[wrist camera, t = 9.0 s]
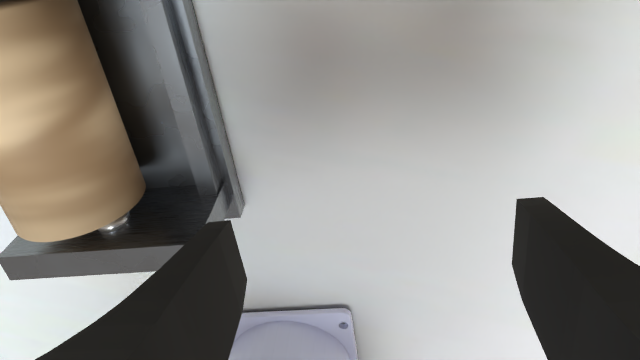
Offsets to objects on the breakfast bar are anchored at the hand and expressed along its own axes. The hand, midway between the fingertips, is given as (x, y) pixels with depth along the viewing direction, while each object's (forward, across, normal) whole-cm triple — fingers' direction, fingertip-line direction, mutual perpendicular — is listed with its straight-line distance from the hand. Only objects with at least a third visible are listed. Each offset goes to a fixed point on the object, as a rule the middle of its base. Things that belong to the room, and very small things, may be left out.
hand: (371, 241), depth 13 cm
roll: (+9, +11, -2) cm, 14 cm away
